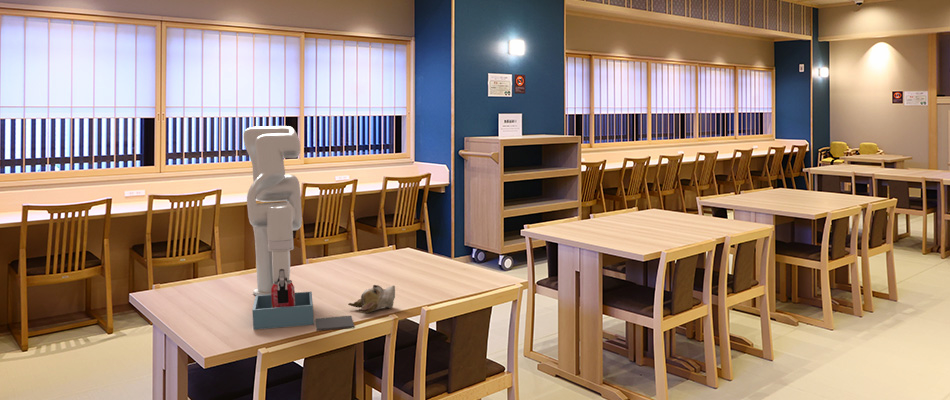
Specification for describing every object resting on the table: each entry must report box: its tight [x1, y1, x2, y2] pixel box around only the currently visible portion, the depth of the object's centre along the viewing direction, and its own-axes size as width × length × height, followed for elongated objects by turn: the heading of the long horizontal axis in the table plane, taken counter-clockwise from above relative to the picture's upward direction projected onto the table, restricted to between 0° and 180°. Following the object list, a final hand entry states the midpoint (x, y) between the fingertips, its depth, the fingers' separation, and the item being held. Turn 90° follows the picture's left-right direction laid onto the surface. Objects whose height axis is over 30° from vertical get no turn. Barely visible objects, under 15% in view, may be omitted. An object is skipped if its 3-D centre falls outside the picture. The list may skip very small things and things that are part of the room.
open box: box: [251, 291, 315, 330], centre depth 216 cm, size 18×18×6 cm
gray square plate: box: [315, 315, 355, 331], centre depth 210 cm, size 11×11×1 cm
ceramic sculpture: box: [348, 284, 396, 313], centre depth 225 cm, size 11×9×15 cm
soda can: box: [271, 279, 296, 308], centre depth 216 cm, size 7×7×12 cm
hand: (283, 299), depth 215 cm, fingers open, 9 cm apart
